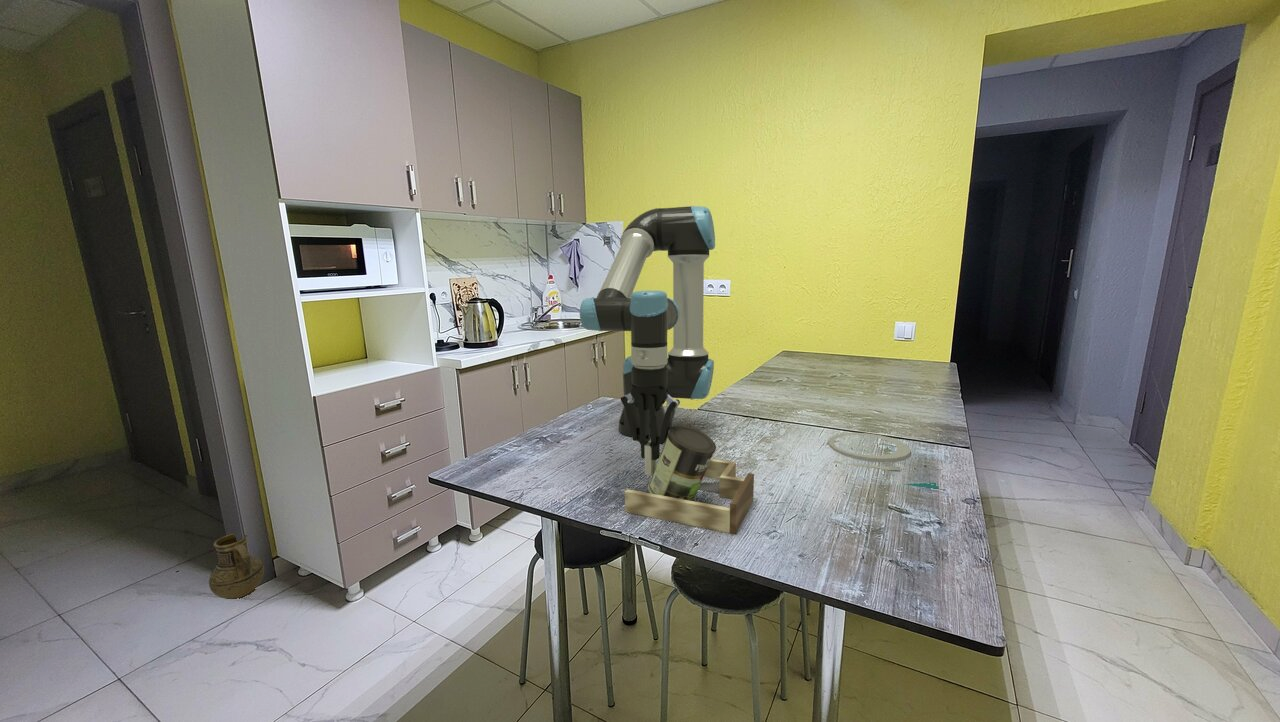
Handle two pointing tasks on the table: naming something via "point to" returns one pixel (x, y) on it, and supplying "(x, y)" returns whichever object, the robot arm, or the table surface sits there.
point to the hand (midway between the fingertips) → (650, 472)
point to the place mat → (898, 455)
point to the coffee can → (682, 463)
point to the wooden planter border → (697, 511)
